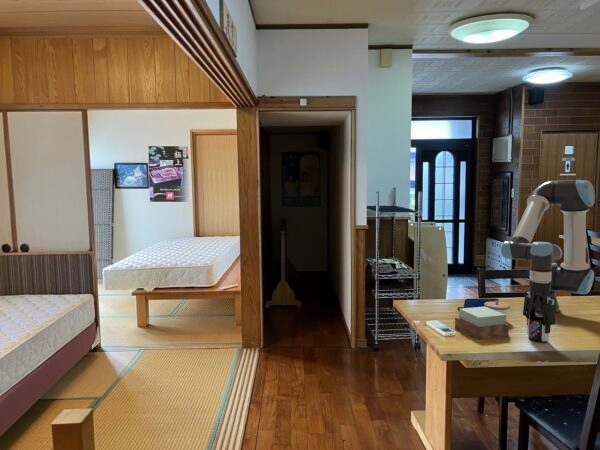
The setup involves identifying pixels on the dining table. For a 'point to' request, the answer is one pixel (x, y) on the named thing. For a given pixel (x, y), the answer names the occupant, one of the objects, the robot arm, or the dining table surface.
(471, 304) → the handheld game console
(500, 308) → the lidded jar
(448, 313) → the dining table surface
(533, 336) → the supplement container
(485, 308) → the sage top block
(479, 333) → the walnut base block
